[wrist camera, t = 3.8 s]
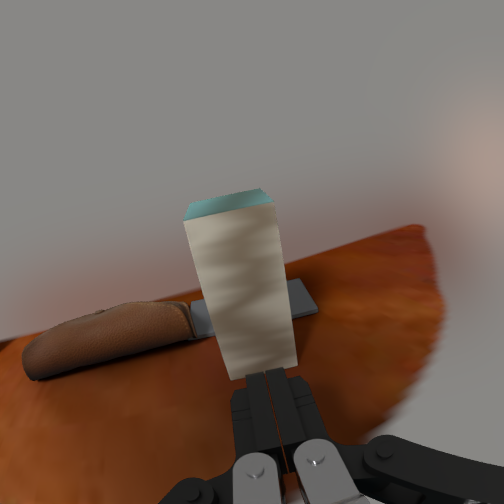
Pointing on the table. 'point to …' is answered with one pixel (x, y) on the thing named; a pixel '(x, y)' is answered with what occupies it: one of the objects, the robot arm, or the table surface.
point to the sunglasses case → (107, 336)
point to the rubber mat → (297, 299)
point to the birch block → (243, 280)
